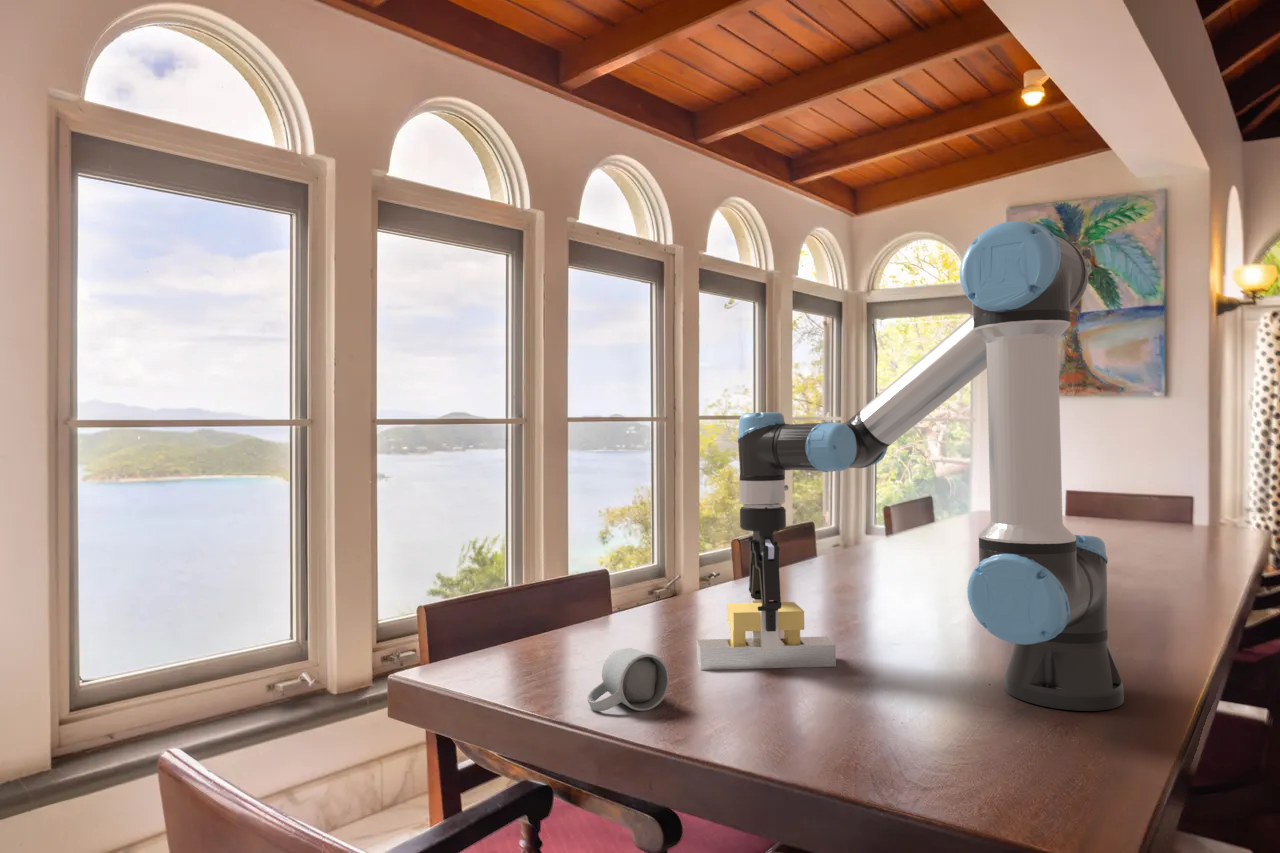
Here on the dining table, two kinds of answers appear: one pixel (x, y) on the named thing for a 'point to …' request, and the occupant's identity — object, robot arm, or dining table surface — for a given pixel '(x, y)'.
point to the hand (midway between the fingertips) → (765, 643)
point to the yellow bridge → (750, 620)
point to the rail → (765, 654)
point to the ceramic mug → (631, 681)
